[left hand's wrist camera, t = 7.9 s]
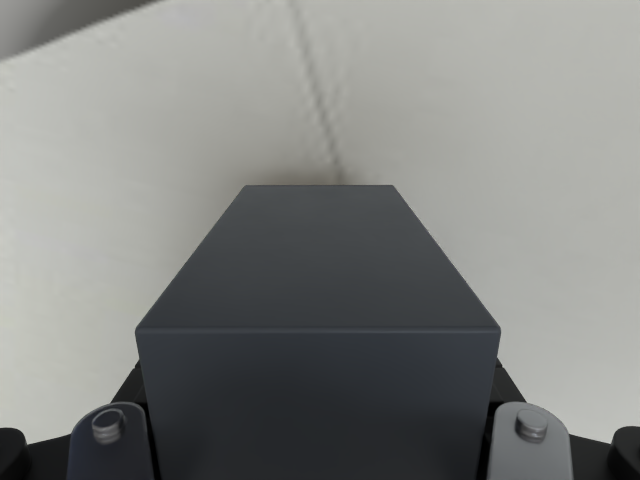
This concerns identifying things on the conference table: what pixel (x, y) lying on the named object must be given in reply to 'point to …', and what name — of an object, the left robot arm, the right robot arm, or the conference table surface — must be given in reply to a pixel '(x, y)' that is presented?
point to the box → (318, 345)
